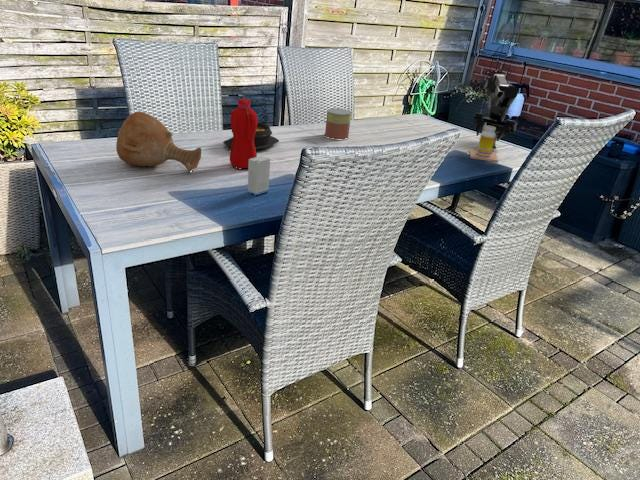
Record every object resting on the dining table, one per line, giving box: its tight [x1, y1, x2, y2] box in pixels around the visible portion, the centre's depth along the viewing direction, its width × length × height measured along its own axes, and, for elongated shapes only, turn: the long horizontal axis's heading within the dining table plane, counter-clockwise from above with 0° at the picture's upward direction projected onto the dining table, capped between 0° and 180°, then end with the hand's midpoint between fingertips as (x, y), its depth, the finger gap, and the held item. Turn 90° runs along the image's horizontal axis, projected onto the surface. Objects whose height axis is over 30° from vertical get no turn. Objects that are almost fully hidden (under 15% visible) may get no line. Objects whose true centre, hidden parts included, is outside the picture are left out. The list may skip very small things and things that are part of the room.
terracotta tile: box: [468, 148, 499, 163], centre depth 228 cm, size 12×12×1 cm
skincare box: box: [247, 155, 271, 193], centre depth 165 cm, size 6×4×12 cm
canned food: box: [324, 107, 352, 139], centre depth 233 cm, size 11×11×12 cm
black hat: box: [223, 122, 280, 150], centre depth 211 cm, size 25×19×8 cm
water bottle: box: [229, 98, 259, 168], centre depth 183 cm, size 9×11×25 cm
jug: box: [115, 111, 202, 172], centre depth 178 cm, size 20×19×30 cm
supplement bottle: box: [476, 125, 497, 156], centre depth 225 cm, size 7×7×13 cm
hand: (486, 137), depth 223 cm, fingers open, 9 cm apart
